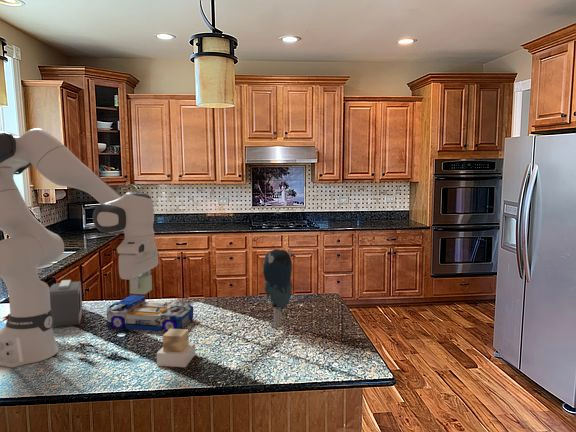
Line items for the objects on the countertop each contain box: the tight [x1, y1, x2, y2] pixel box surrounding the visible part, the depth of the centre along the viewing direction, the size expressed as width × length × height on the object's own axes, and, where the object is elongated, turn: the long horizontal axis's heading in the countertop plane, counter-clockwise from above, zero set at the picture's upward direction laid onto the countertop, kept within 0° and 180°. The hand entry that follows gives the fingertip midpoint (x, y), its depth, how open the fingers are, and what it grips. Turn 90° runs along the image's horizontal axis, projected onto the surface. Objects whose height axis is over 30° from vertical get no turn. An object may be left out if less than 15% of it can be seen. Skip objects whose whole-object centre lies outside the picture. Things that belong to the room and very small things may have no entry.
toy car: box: [106, 294, 194, 333], centre depth 167 cm, size 16×30×10 cm, turn 80°
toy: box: [262, 248, 293, 329], centre depth 163 cm, size 14×11×30 cm
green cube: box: [129, 274, 153, 295], centre depth 136 cm, size 5×5×5 cm
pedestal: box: [156, 342, 196, 368], centre depth 135 cm, size 9×9×4 cm
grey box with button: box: [49, 279, 83, 328], centre depth 168 cm, size 16×11×16 cm
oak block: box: [162, 328, 190, 352], centre depth 134 cm, size 6×6×5 cm
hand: (140, 286), depth 136 cm, fingers closed on green cube, 5 cm apart
